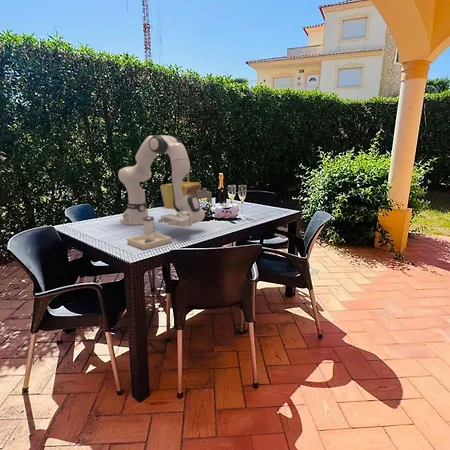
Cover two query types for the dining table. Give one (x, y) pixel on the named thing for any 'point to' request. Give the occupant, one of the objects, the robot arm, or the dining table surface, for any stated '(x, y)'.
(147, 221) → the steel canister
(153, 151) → the robot arm
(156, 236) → the sand tray
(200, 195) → the hip flask
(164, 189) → the picnic basket
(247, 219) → the dining table surface
